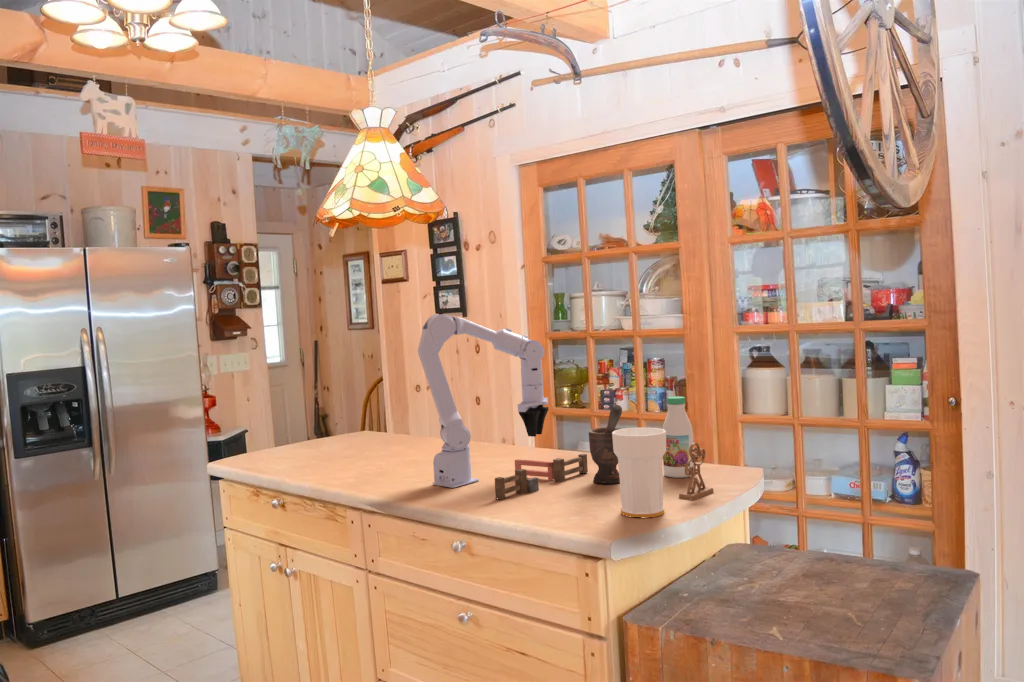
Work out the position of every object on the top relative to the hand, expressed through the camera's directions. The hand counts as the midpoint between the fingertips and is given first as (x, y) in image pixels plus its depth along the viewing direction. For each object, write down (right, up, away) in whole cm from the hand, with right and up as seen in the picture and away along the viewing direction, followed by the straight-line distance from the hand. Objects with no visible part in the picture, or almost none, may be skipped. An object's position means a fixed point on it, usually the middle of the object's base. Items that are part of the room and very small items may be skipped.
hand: (535, 435), depth 214 cm
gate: (0, -10, -5) cm, 12 cm away
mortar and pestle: (+19, -10, -14) cm, 26 cm away
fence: (+2, -11, -14) cm, 18 cm away
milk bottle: (+37, -9, -10) cm, 39 cm away
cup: (+22, -12, -44) cm, 50 cm away
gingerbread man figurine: (+36, -10, -32) cm, 49 cm away
